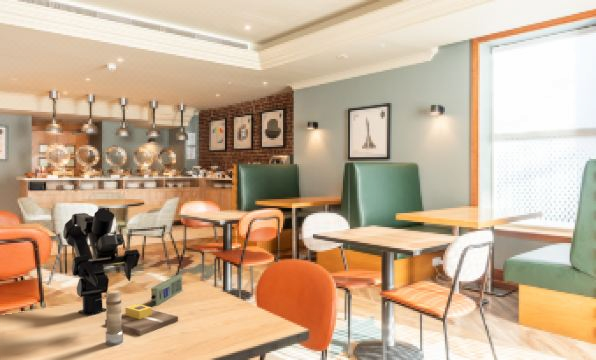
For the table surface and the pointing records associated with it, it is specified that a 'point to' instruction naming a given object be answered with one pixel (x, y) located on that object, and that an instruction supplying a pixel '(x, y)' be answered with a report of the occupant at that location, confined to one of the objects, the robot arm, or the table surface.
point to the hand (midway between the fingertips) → (113, 282)
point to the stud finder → (138, 311)
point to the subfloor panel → (146, 322)
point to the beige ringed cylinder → (113, 318)
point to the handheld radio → (166, 290)
